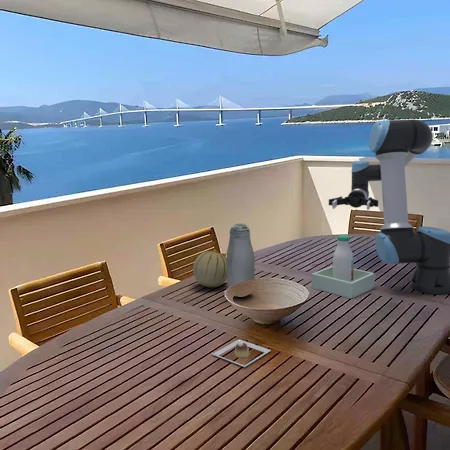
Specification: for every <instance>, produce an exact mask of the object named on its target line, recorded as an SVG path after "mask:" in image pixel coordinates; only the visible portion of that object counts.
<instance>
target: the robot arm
mask: <svg viewBox="0 0 450 450" xmlns="http://www.w3.org/2000/svg"><path fill="white" fill-rule="evenodd" d="M433 136H434V135H433V132H432V129H431V128H430V126H429V125H428V124H427V123H426V122H424V121H422V120H420V119H415V118H414V119H391V120H390V119H386V120H380V121H377V122H375V123H374V124H373V126H372V128H371V130H370V134H369V140H368V147H369V150H370V152H371V153H375V159H377V160H378V162H379V163H380V164H370V162H369V160H354V161H352V165H351V189H350V190H351V192H349V193H348V195H347V196H345V197H343V196H339V197H333V198H329V199H328V206H332V210H335V209H336V208H337V207H338V206H342V205H345V206H350V207H351V208H354V209H356V208H361V207H362V206H366V210H367V211H369V210H370V208H373V207H376V208H377V207H379V200H378V199H375V198H373V197H371V196H369V195H370V192H369V182H378V181H379V182H380V181H381V195H382V196H381V197H382V211H383V212H382V213H383V225H382V226H381V227H380V230H379V231H380V232H379V233H377V234H376V236H375V241H374V243H375V250H376V253H377V254H378V257H379V259H380V260H381V262H383V263H384V264H387V265H389V264H392V265H393V264H394V265H398V264H414V263H416V264H415V265H416V266H415V269H414V272H413V274H412V277H411V278H410V288H412V289H413V290H414V291H417V292H419V293H425V294H430V295H431V294H432V295H445V294H450V232H449V231H448V230H446V229H443V228H438V227H433V226H419V227H417V231H414V226H413V225H412V224H410V222H409V213H408V212H409V210H408V198H407V182H406V170H405V169H406V168H405V167H407V165H408V164H410V163H411V162H412V160H414V159H415V158H416V157H417V156H418V155H422V154H424V153H425V152H426V151H427V150H428V149H429V148H430V147H431V145H432V143H433V138H434V137H433Z"/></svg>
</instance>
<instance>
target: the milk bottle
mask: <svg viewBox="0 0 450 450" xmlns="http://www.w3.org/2000/svg"><path fill="white" fill-rule="evenodd" d="M336 237H337V238H336V239H337V246H336V248H335V250H334V253H333V258H332V266H333V278H335V279H339V280H343V281H348V282H353V269H354V253H353V251H352V249H351V246H350V242H351V241H350V240H351V239H350V238H351V237H350V235H347V234H339V235H337V236H336Z"/></svg>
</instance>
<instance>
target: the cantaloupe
mask: <svg viewBox="0 0 450 450" xmlns="http://www.w3.org/2000/svg"><path fill="white" fill-rule="evenodd" d="M192 272H193V276H194V278H195V281H196V282H197V283H198V284H199V285H202V286H204V287H206V288H217V287H219V286H221V285H223V284H224V283H226V282H227V266H226V256H225V255H223V254H221V253H220V252H217V250H216V249H215V248H213V251H210V250H209V251H204V252H201V253H200V254H199V255H198V256H197V257H196V259H195V261H194V262H193V267H192Z"/></svg>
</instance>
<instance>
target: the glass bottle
mask: <svg viewBox="0 0 450 450" xmlns="http://www.w3.org/2000/svg"><path fill="white" fill-rule="evenodd" d="M225 258H226V266H227V280H226V282H227V283H226V284H227V288H229V287H230V286H233V285H235V284H238V283H240V282H244V281H248V280H255V252H254V248H253V244H252V241H251V231H250V227H249V226H248V225H247V224H246V223H236V224H234V225H232V226H231V227H230V230H229V241H228V246H227V249H226V255H225Z"/></svg>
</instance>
